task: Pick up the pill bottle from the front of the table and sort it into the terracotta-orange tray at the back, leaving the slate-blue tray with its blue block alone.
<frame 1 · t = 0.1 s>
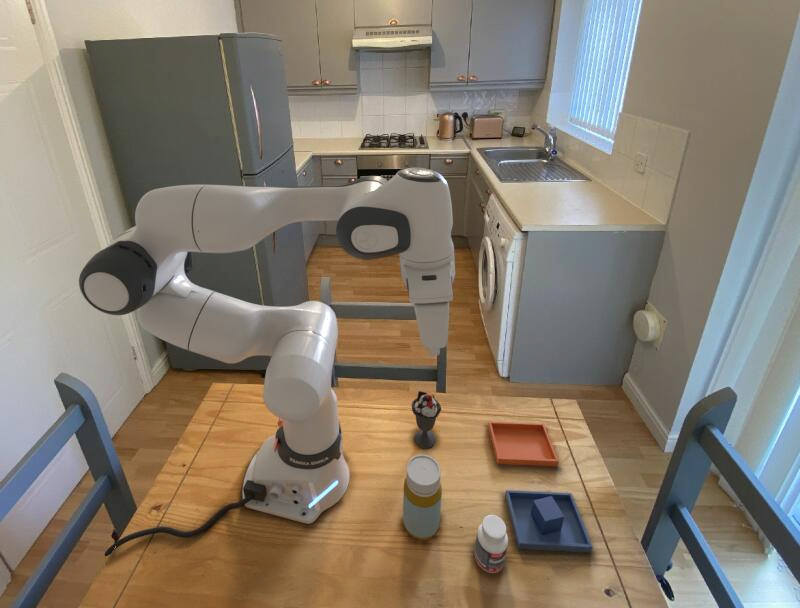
hand: (432, 334, 74), 39 cm above the table, tool pointing down, fingers open, 8 cm apart
sundae: (424, 439, 99), on the table
orange tray: (520, 446, 97), on the table
blue block: (545, 521, 81), resting on blue tray
blue tray: (545, 523, 81), on the table
pill bottle: (489, 558, 76), on the table
bottle: (420, 523, 82), on the table
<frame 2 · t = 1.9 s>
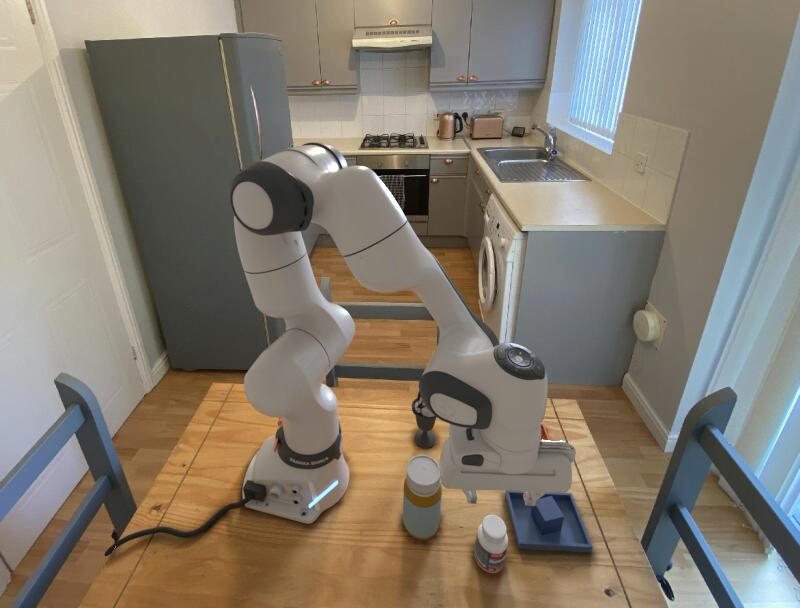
hand: (499, 500, 70), 16 cm above the table, tool pointing down, fingers open, 8 cm apart
nothing on the table moved.
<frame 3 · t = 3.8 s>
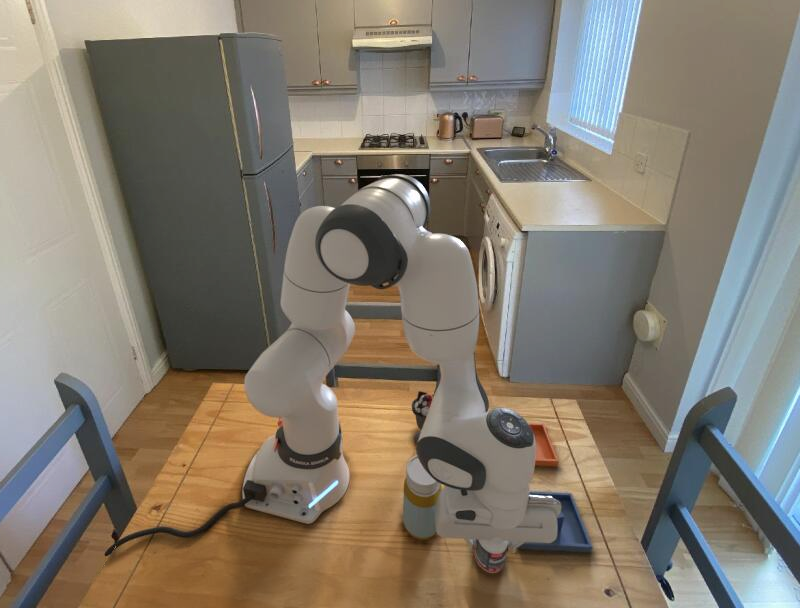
hand: (490, 547, 75), 3 cm above the table, tool pointing down, fingers closed on pill bottle, 5 cm apart
pill bottle: (489, 558, 76), on the table, touching gripper
everything else where it was.
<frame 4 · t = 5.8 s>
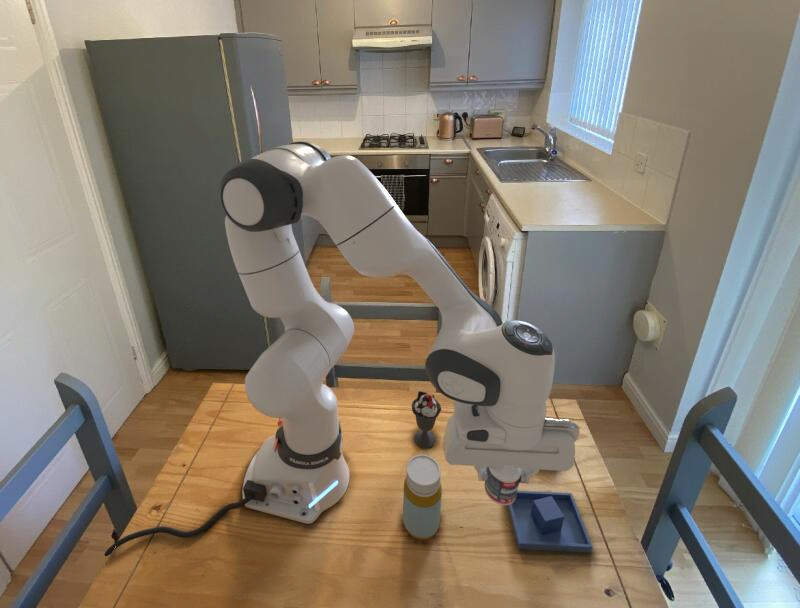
hand: (502, 478, 70), 18 cm above the table, tool pointing down, fingers closed on pill bottle, 5 cm apart
pill bottle: (500, 491, 72), point 15 cm above the table, touching gripper
everything else where it was.
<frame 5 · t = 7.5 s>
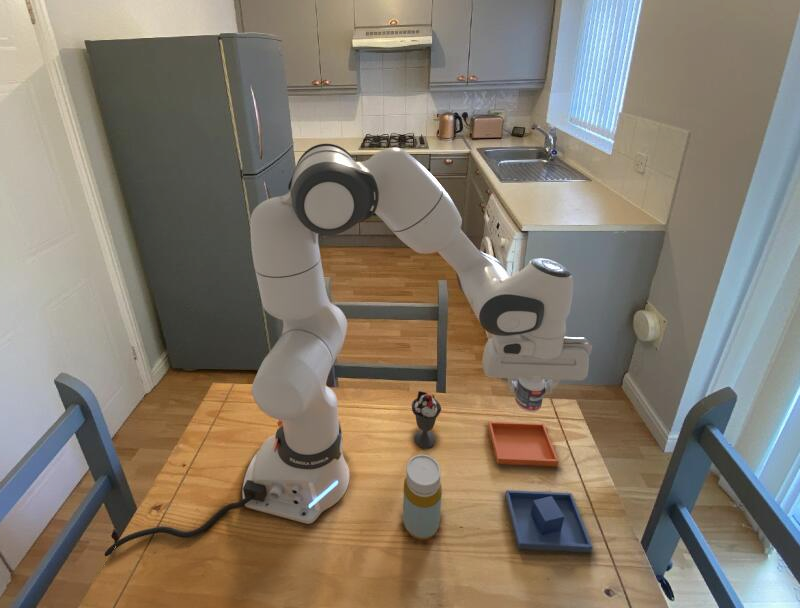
hand: (529, 391, 87), 19 cm above the table, tool pointing down, fingers closed on pill bottle, 5 cm apart
pill bottle: (527, 403, 88), point 16 cm above the table, touching gripper
everything else where it was.
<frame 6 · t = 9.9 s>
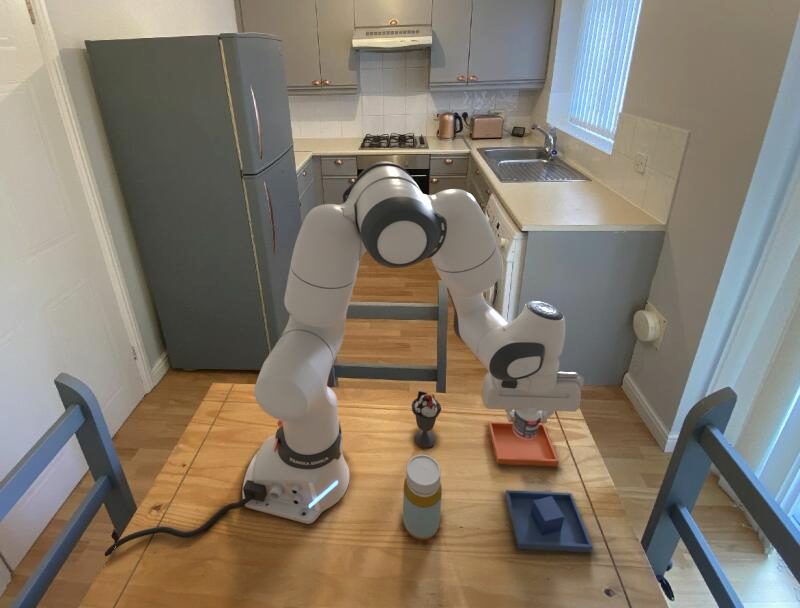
hand: (526, 420, 93), 8 cm above the table, tool pointing down, fingers closed on pill bottle, 5 cm apart
pill bottle: (524, 431, 95), point 5 cm above the table, touching gripper
everything else where it was.
when the fingers open (3 cm above the table, at t = 11.5 s): pill bottle stays where it is, resting on orange tray.
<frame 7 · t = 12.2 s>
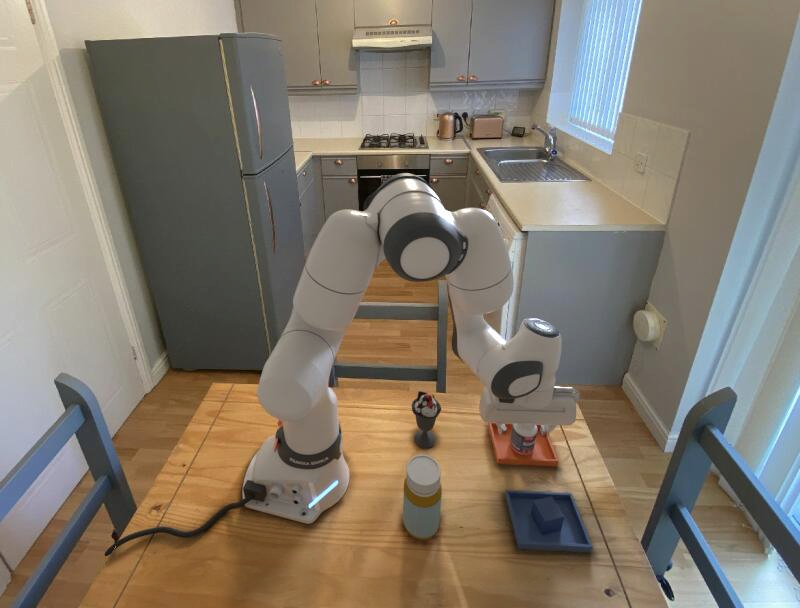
hand: (522, 433, 95), 4 cm above the table, tool pointing down, fingers open, 8 cm apart
pill bottle: (521, 446, 96), resting on orange tray
everything else where it was.
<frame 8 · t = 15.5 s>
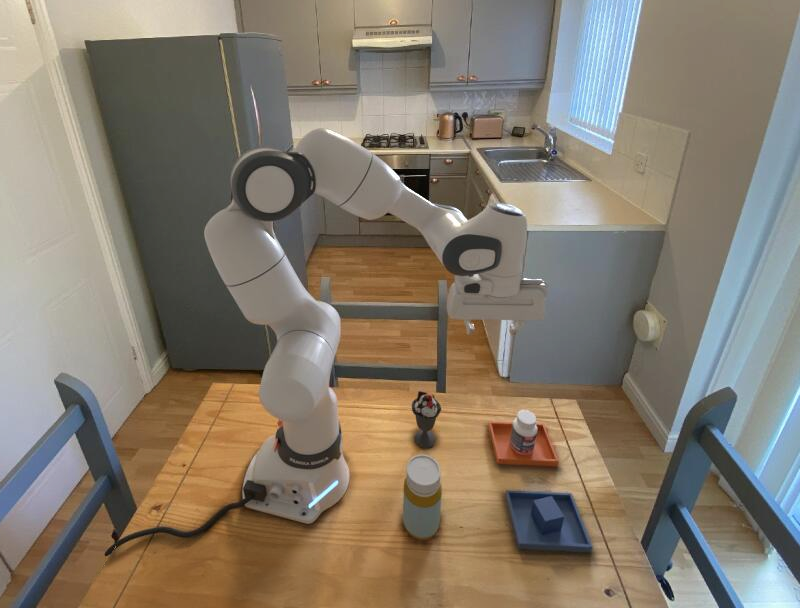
hand: (491, 333, 92), 27 cm above the table, tool pointing down, fingers open, 8 cm apart
nothing on the table moved.
at the end: pill bottle inside the target area in the orange tray (0.2 cm from its centre), point 0.3 cm above the orange tray's base; pill bottle tilted 0°; blue block moved 0.0 cm from its start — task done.
